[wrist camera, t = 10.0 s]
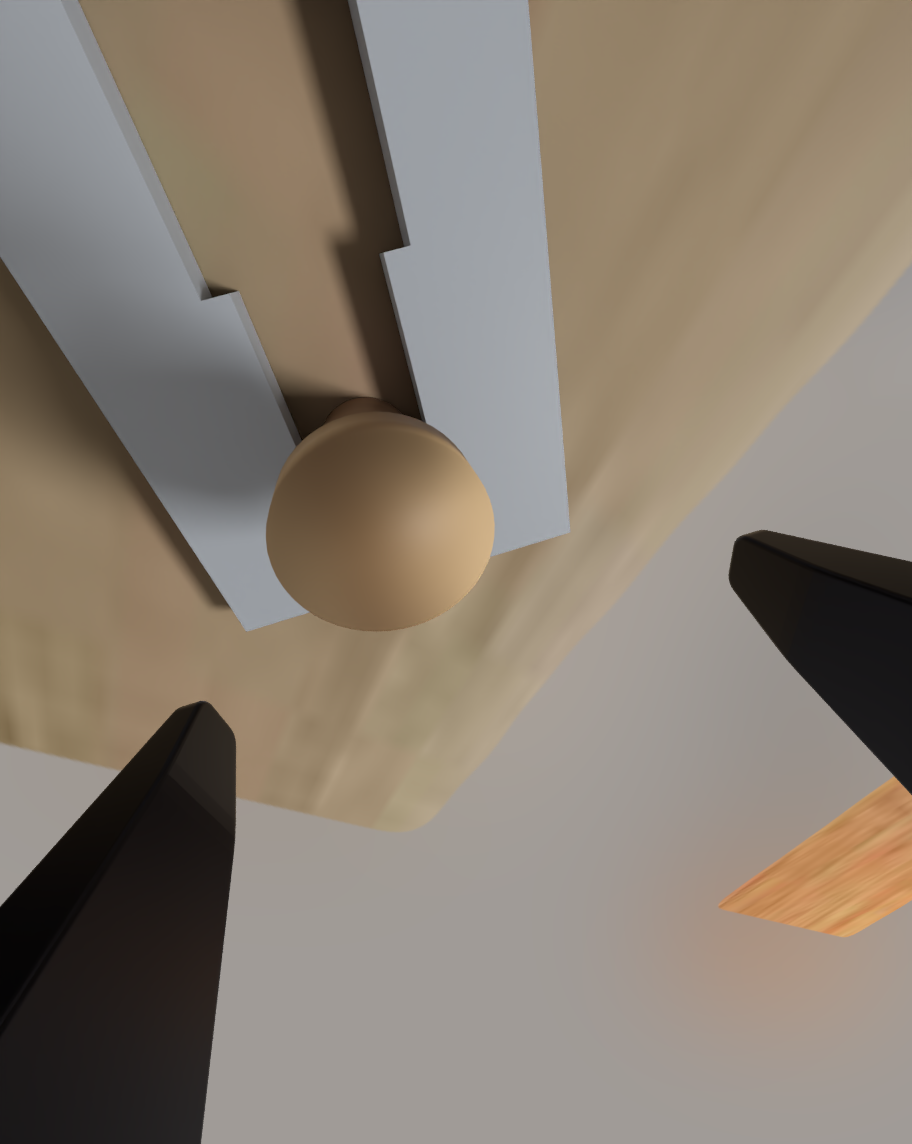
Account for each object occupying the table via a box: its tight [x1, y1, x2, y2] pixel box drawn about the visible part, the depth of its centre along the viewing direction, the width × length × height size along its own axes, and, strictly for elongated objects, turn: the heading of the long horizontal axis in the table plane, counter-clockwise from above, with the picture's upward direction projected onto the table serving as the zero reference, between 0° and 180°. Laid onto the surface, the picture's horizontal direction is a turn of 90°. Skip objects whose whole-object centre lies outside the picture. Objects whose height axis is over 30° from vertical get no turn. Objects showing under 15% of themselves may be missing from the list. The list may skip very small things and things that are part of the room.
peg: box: [266, 397, 495, 631], centre depth 14 cm, size 5×5×8 cm
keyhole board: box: [0, 0, 570, 632], centre depth 14 cm, size 20×14×2 cm
